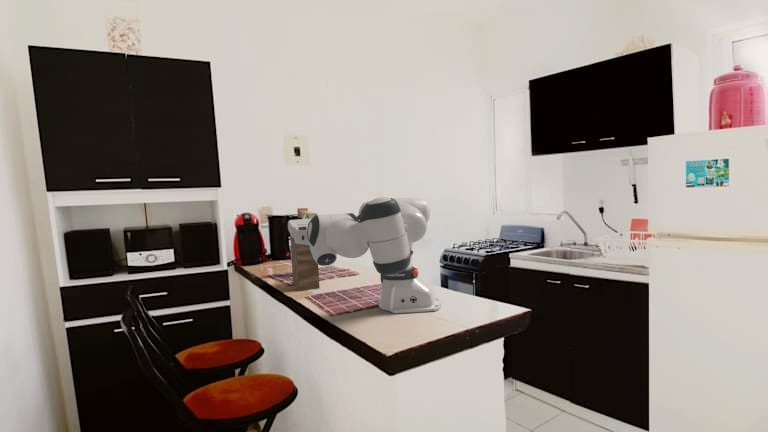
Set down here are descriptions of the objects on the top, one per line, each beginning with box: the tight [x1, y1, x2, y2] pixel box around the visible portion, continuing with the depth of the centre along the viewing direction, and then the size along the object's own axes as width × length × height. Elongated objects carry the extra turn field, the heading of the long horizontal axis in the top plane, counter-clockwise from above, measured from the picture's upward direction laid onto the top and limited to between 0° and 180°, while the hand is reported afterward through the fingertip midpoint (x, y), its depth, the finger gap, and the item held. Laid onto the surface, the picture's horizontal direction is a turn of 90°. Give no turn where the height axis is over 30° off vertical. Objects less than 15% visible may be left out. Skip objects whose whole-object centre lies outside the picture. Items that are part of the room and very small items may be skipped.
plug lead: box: [297, 207, 317, 219], centre depth 178 cm, size 25×4×4 cm, turn 21°
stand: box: [289, 234, 320, 292], centre depth 188 cm, size 16×9×26 cm, turn 22°
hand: (310, 215), depth 170 cm, fingers closed on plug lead, 3 cm apart
